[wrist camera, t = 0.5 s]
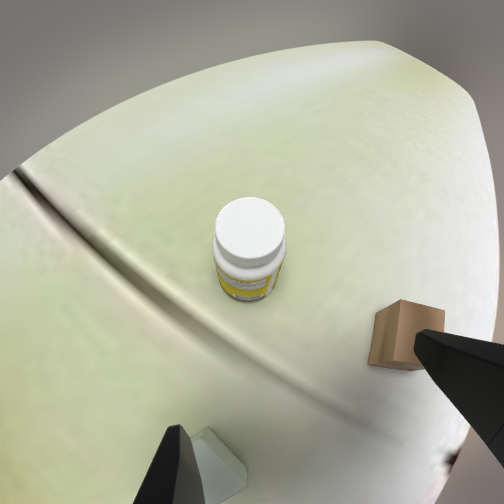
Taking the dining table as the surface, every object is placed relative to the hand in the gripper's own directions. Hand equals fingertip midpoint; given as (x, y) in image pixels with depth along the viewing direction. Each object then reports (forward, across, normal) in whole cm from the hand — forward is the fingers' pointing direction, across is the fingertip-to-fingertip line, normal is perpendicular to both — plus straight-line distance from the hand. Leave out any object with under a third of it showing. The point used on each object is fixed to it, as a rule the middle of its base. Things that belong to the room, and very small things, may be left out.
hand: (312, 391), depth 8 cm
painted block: (+6, +7, +12) cm, 16 cm away
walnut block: (+9, -11, +10) cm, 17 cm away
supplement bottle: (+16, -1, +2) cm, 16 cm away
